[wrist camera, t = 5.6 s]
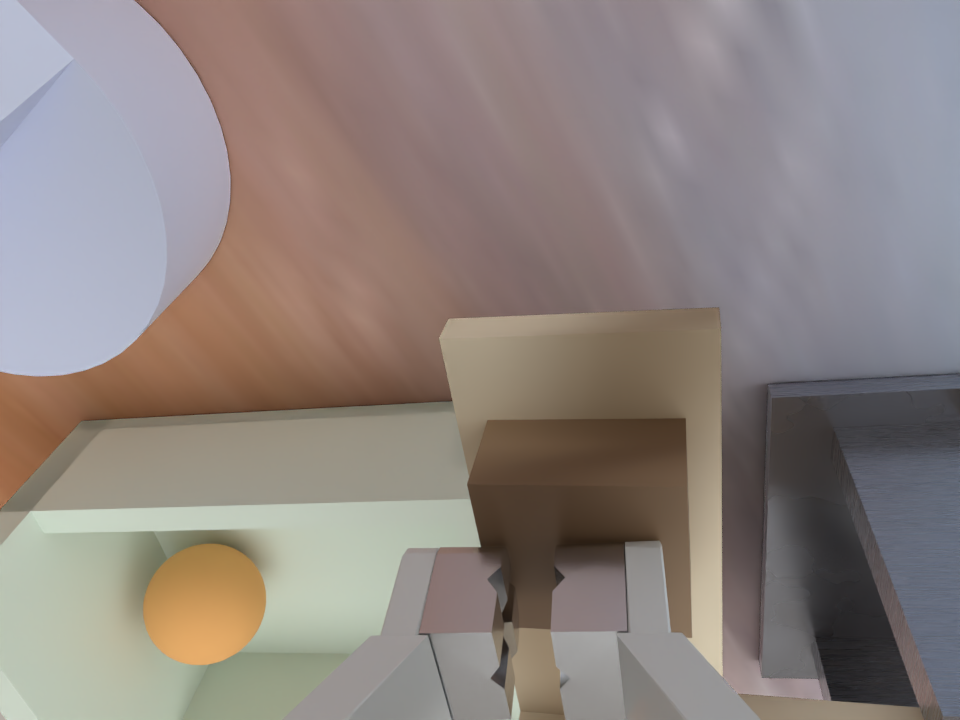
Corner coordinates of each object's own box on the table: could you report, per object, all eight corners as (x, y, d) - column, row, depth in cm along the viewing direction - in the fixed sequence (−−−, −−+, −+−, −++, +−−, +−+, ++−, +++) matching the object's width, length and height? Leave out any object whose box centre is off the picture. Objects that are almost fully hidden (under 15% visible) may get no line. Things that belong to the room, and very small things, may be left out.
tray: (491, 399, 22) (448, 601, 16) (540, 658, 28) (521, 877, 22) (81, 420, 24) (-85, 601, 19) (203, 654, 30) (105, 848, 24)
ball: (163, 630, 22) (102, 576, 24) (207, 711, 23) (147, 654, 26) (269, 546, 24) (204, 504, 26) (302, 627, 26) (239, 581, 28)
